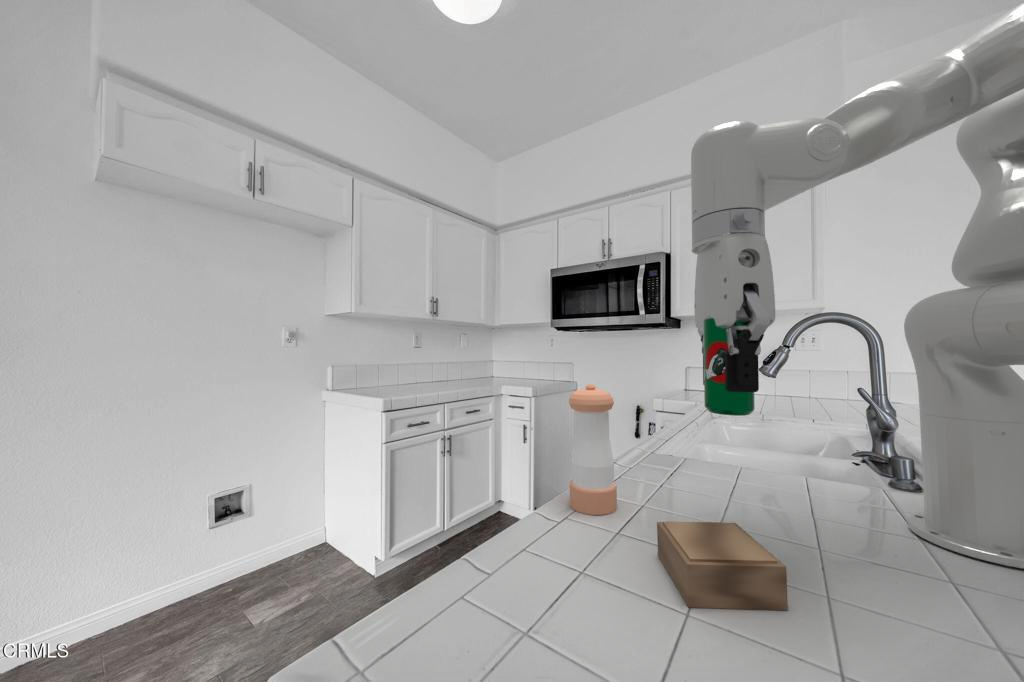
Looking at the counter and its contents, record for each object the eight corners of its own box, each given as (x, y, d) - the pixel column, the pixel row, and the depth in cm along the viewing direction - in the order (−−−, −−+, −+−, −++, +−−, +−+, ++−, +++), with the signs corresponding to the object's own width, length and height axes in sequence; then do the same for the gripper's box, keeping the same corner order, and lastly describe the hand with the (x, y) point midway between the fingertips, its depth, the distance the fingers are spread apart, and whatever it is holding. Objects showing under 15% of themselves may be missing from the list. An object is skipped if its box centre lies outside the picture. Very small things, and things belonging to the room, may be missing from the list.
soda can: (762, 417, 41) (760, 307, 41) (711, 415, 42) (710, 308, 42) (744, 410, 46) (743, 312, 46) (699, 408, 47) (698, 313, 47)
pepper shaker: (616, 498, 62) (614, 382, 62) (617, 517, 55) (613, 386, 55) (572, 495, 64) (570, 382, 64) (567, 512, 57) (564, 386, 57)
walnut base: (736, 557, 44) (735, 520, 44) (787, 610, 35) (786, 563, 35) (657, 555, 44) (656, 519, 44) (688, 607, 35) (687, 561, 35)
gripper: (811, 206, 36) (815, 398, 35) (725, 254, 52) (727, 384, 52) (728, 208, 36) (731, 396, 36) (670, 255, 53) (671, 383, 53)
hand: (728, 387), depth 44 cm, fingers closed on soda can, 5 cm apart
